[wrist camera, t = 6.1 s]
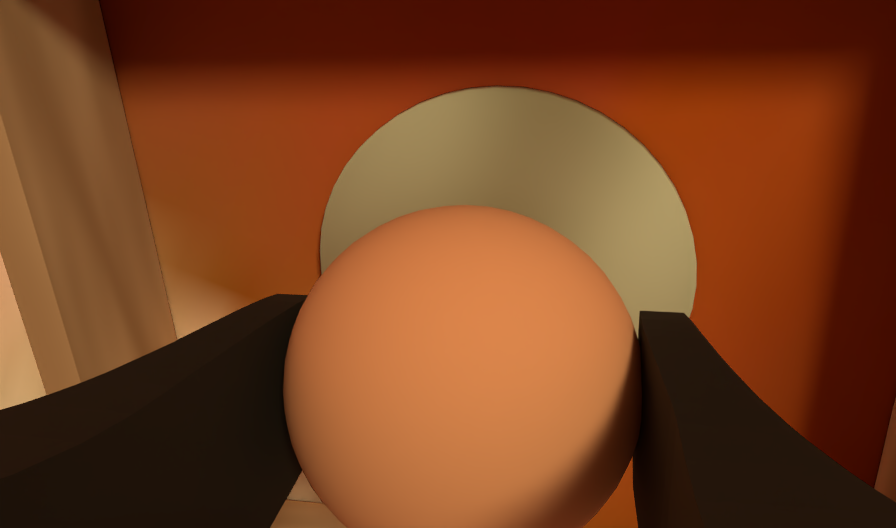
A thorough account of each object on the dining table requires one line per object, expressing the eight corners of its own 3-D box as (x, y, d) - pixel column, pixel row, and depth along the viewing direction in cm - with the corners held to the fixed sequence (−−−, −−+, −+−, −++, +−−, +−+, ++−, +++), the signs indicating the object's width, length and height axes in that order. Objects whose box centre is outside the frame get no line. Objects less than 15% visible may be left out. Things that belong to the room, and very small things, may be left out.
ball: (642, 160, 11) (682, 317, 7) (624, 428, 14) (647, 682, 9) (327, 159, 12) (181, 298, 8) (356, 412, 14) (254, 638, 10)
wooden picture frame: (1102, -195, 10) (1286, -234, 7) (892, 592, 16) (951, 732, 13) (30, -114, 13) (-121, -122, 10) (188, 514, 19) (117, 614, 16)
